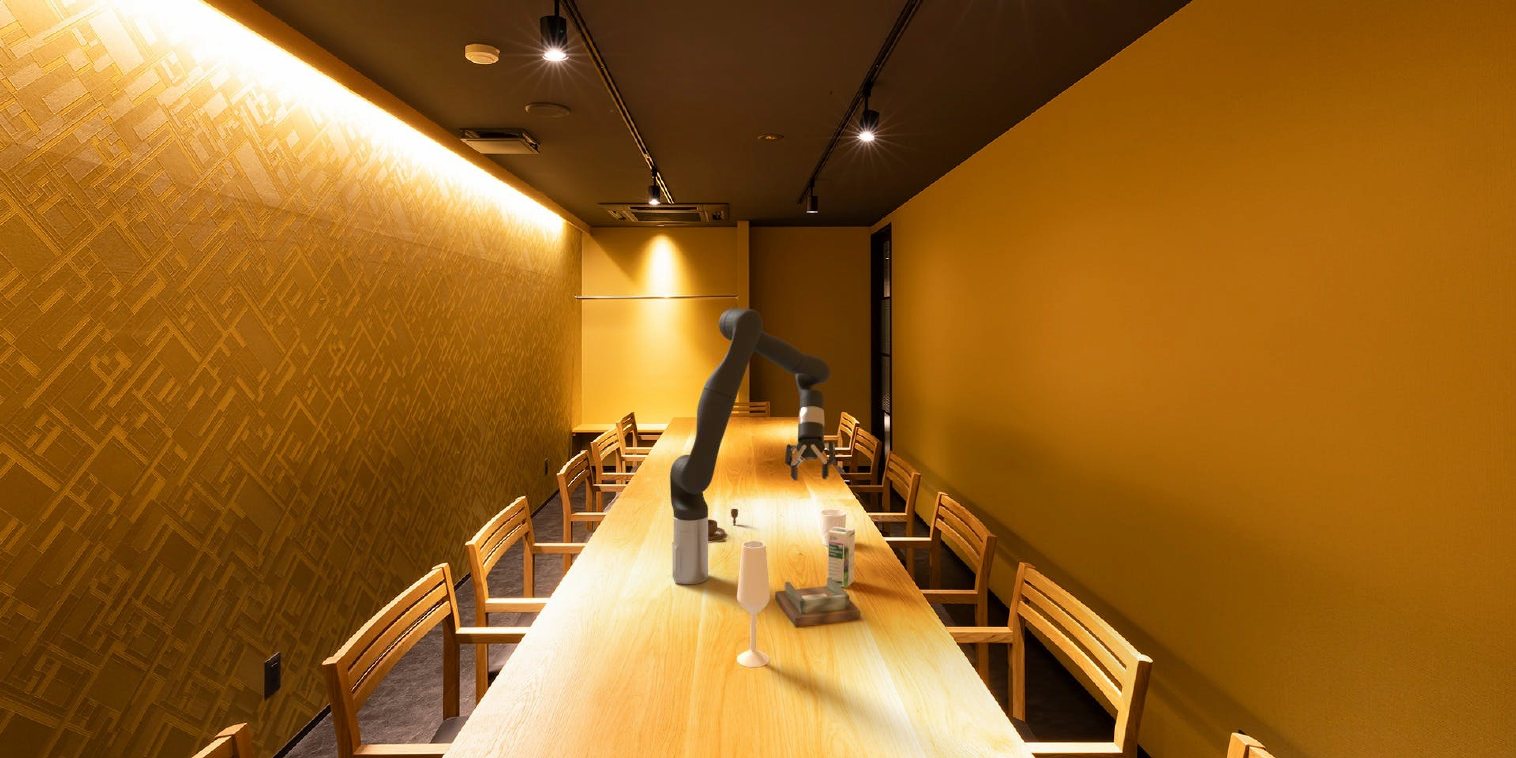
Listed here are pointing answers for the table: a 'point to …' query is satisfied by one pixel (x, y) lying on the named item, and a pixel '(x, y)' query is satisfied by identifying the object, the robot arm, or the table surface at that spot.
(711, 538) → the place setting
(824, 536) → the white cup
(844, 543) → the syrup box
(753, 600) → the champagne flute
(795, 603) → the dock
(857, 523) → the table surface
